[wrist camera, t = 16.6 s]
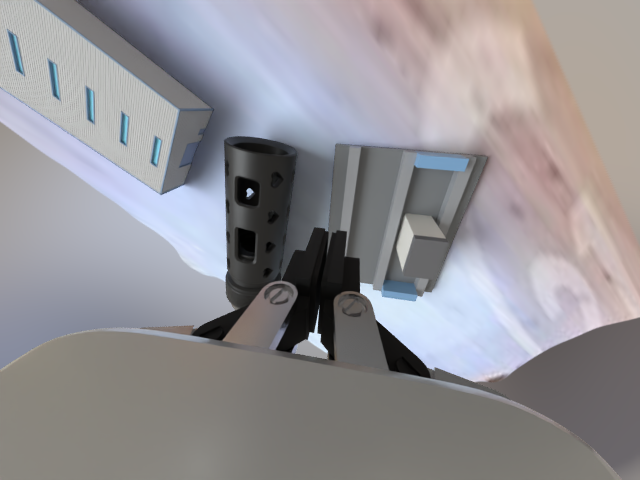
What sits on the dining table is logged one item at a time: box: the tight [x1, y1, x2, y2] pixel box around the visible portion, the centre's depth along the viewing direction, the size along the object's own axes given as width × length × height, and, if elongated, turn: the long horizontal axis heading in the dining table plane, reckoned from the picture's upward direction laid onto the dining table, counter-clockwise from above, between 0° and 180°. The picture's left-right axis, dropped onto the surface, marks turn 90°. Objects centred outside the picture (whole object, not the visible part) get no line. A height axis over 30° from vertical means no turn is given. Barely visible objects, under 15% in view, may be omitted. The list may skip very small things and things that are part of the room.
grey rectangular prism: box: [396, 213, 449, 280], centre depth 33 cm, size 6×4×8 cm, turn 177°
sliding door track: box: [327, 144, 488, 301], centre depth 36 cm, size 24×20×4 cm
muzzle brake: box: [224, 136, 297, 310], centre depth 36 cm, size 10×28×10 cm, turn 168°
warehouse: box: [0, 0, 214, 195], centre depth 30 cm, size 30×14×8 cm, turn 53°
